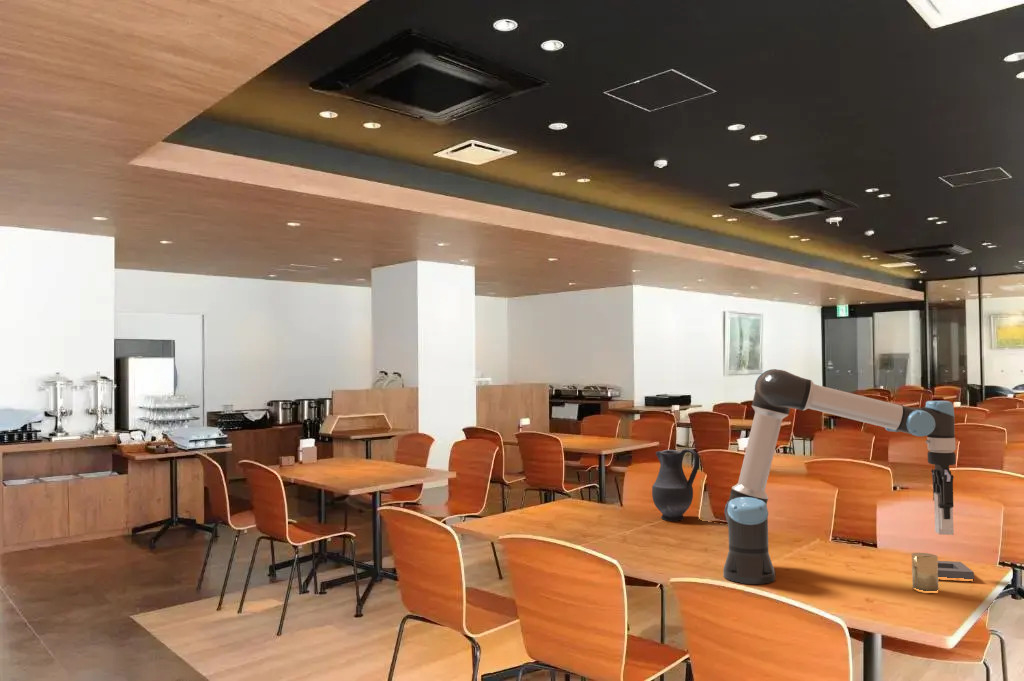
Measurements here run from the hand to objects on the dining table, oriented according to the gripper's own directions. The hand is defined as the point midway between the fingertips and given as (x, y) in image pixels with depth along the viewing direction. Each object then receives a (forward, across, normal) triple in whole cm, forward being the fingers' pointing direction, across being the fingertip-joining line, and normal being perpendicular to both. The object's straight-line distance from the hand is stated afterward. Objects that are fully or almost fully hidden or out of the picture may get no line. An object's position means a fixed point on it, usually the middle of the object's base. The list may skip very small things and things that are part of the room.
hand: (944, 527), depth 230 cm
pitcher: (+15, -70, -83) cm, 110 cm away
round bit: (+15, +18, -10) cm, 25 cm away
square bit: (+2, 0, 0) cm, 2 cm away
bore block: (+15, 0, 0) cm, 15 cm away
